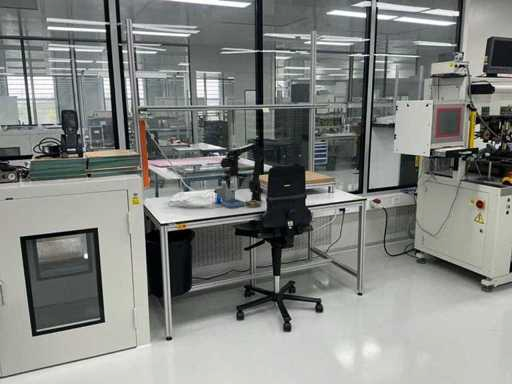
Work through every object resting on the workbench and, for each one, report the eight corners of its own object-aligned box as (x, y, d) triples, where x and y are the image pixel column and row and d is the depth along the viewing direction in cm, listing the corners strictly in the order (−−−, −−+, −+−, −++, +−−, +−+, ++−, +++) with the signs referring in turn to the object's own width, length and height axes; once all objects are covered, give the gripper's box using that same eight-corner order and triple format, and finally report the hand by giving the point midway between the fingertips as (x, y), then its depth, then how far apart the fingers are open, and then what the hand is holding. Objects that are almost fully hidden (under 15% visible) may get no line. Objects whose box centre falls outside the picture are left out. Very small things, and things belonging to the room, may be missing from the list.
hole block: (254, 204, 307) (254, 200, 307) (260, 206, 301) (260, 202, 300) (245, 205, 303) (245, 201, 302) (251, 207, 296) (251, 203, 296)
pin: (233, 203, 305) (233, 188, 303) (236, 204, 302) (236, 189, 299) (229, 204, 302) (229, 189, 300) (232, 205, 299) (232, 190, 297)
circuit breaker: (213, 201, 315) (213, 181, 312) (232, 200, 319) (231, 180, 315) (214, 203, 308) (214, 183, 305) (234, 202, 311) (233, 182, 308)
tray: (236, 202, 310) (236, 198, 310) (244, 205, 302) (244, 201, 301) (221, 205, 303) (221, 201, 302) (229, 208, 294) (229, 204, 294)
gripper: (238, 163, 309) (239, 184, 312) (216, 166, 298) (217, 187, 302) (247, 165, 300) (247, 187, 303) (225, 168, 289) (225, 190, 293)
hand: (234, 188), depth 301 cm, fingers open, 9 cm apart
